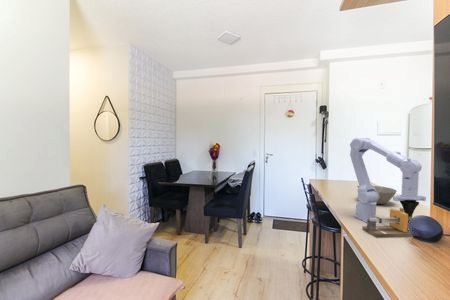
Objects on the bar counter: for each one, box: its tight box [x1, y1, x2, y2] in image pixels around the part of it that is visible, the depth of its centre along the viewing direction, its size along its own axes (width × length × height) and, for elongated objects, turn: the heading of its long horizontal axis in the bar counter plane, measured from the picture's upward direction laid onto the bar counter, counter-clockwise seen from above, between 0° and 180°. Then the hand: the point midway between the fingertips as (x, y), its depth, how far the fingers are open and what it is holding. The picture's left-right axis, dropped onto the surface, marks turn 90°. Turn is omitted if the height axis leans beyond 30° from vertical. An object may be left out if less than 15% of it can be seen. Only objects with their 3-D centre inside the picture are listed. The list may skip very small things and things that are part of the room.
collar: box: [388, 208, 408, 232], centre depth 103 cm, size 8×2×8 cm, turn 4°
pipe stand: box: [361, 216, 413, 239], centre depth 103 cm, size 9×20×7 cm, turn 94°
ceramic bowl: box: [357, 185, 398, 205], centre depth 153 cm, size 22×23×10 cm
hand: (408, 216), depth 103 cm, fingers closed
